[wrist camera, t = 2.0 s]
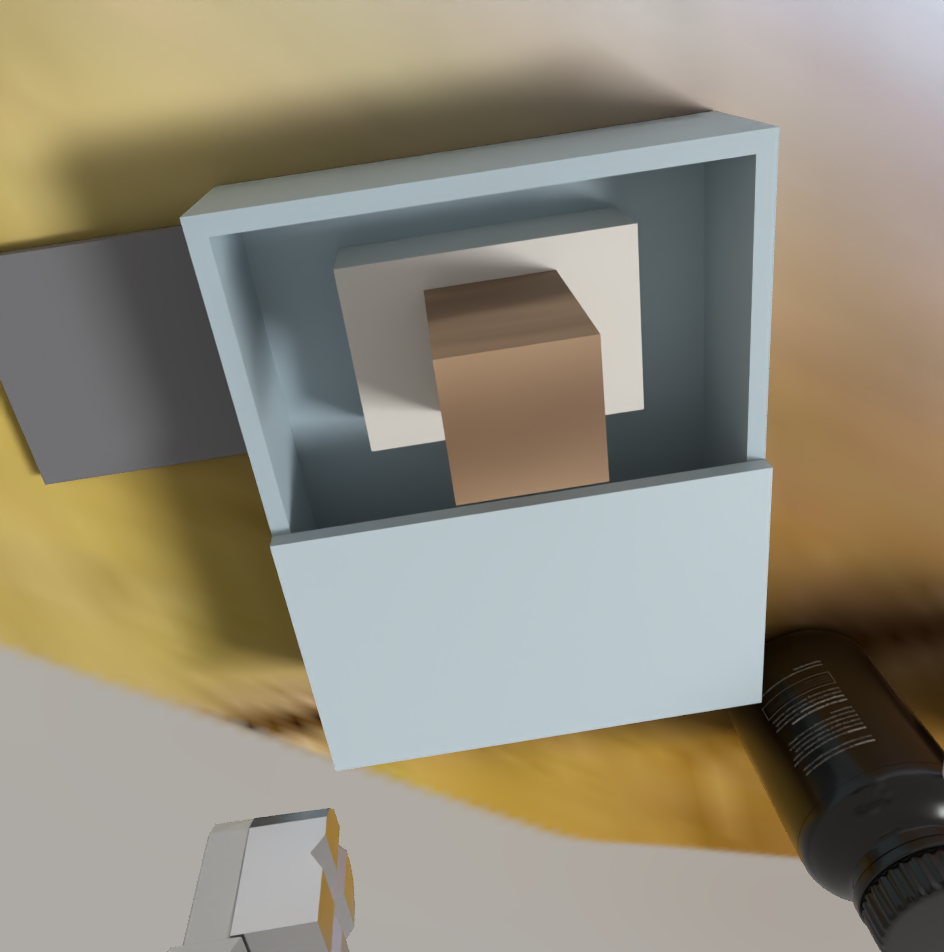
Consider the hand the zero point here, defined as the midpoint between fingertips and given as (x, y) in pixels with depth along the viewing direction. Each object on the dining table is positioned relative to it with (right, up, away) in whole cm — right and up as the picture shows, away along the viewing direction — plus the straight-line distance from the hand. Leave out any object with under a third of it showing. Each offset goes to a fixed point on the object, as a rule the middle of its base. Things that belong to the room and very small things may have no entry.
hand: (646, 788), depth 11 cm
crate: (-1, +6, +20) cm, 21 cm away
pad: (-14, +8, +18) cm, 24 cm away
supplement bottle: (+13, -5, +28) cm, 31 cm away
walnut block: (-2, +8, +15) cm, 17 cm away
